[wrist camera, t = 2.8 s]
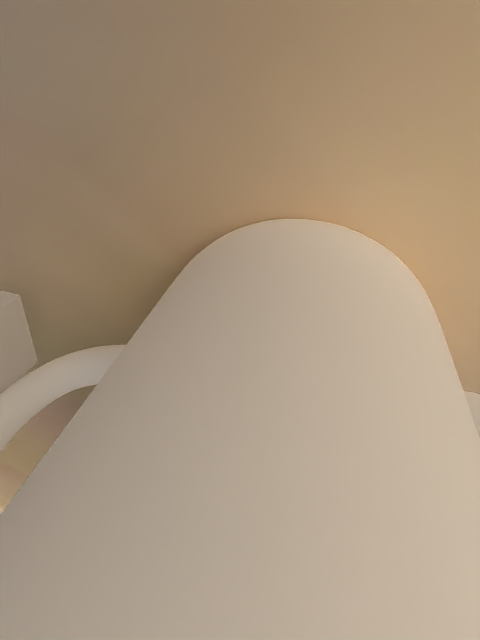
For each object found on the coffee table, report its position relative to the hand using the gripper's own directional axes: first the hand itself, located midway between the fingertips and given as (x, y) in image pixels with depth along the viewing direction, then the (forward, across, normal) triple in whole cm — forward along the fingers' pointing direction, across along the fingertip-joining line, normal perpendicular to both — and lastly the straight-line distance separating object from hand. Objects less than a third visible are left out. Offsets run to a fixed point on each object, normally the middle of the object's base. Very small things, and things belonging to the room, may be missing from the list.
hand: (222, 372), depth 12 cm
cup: (+2, 0, 0) cm, 2 cm away
